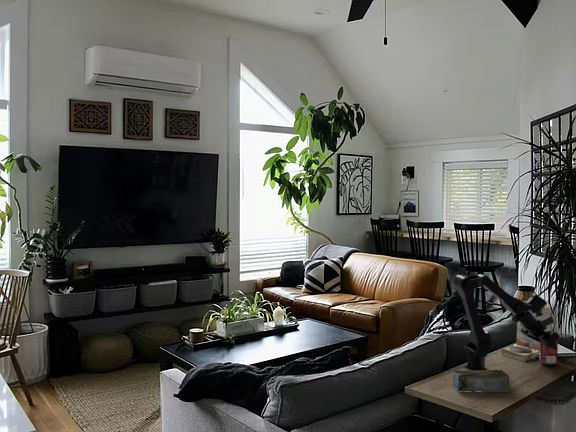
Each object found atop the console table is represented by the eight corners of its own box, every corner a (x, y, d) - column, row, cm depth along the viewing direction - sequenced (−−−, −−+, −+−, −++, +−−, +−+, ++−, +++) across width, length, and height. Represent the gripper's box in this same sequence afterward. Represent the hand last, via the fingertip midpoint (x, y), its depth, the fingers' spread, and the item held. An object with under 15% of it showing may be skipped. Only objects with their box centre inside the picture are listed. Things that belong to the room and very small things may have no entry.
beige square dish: (523, 361, 239) (523, 355, 239) (501, 354, 248) (501, 348, 248) (539, 357, 244) (539, 351, 244) (517, 350, 254) (518, 344, 254)
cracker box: (515, 346, 260) (517, 301, 259) (525, 344, 263) (526, 300, 261) (539, 355, 248) (541, 308, 246) (549, 353, 250) (551, 306, 248)
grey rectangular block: (451, 385, 212) (451, 367, 212) (502, 385, 212) (502, 368, 212) (457, 393, 204) (458, 375, 204) (510, 393, 204) (511, 375, 204)
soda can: (557, 366, 231) (558, 337, 231) (539, 364, 233) (540, 335, 233) (556, 361, 237) (557, 333, 237) (539, 359, 240) (539, 331, 239)
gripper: (556, 313, 224) (579, 339, 227) (528, 302, 243) (549, 327, 245) (538, 333, 223) (561, 359, 226) (510, 321, 242) (532, 345, 245)
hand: (551, 346), depth 236 cm, fingers closed on soda can, 6 cm apart
